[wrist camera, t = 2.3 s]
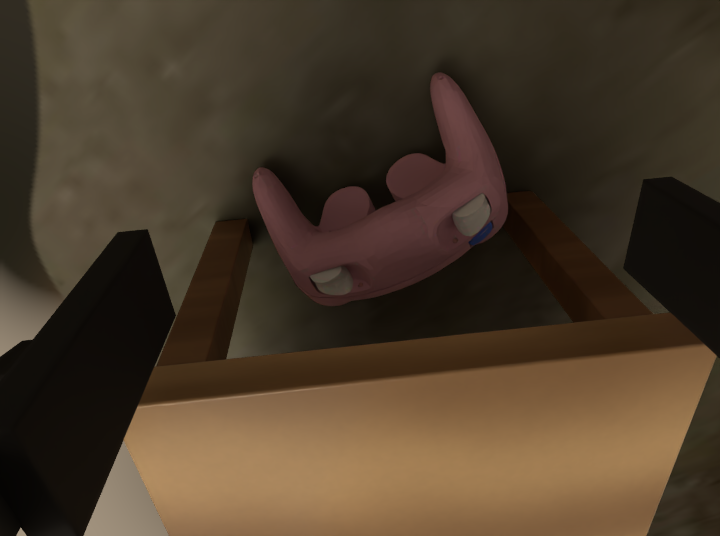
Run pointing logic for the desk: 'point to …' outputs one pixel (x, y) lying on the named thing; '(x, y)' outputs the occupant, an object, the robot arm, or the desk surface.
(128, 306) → the robot arm
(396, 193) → the video game controller
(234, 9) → the desk surface
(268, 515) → the side table
